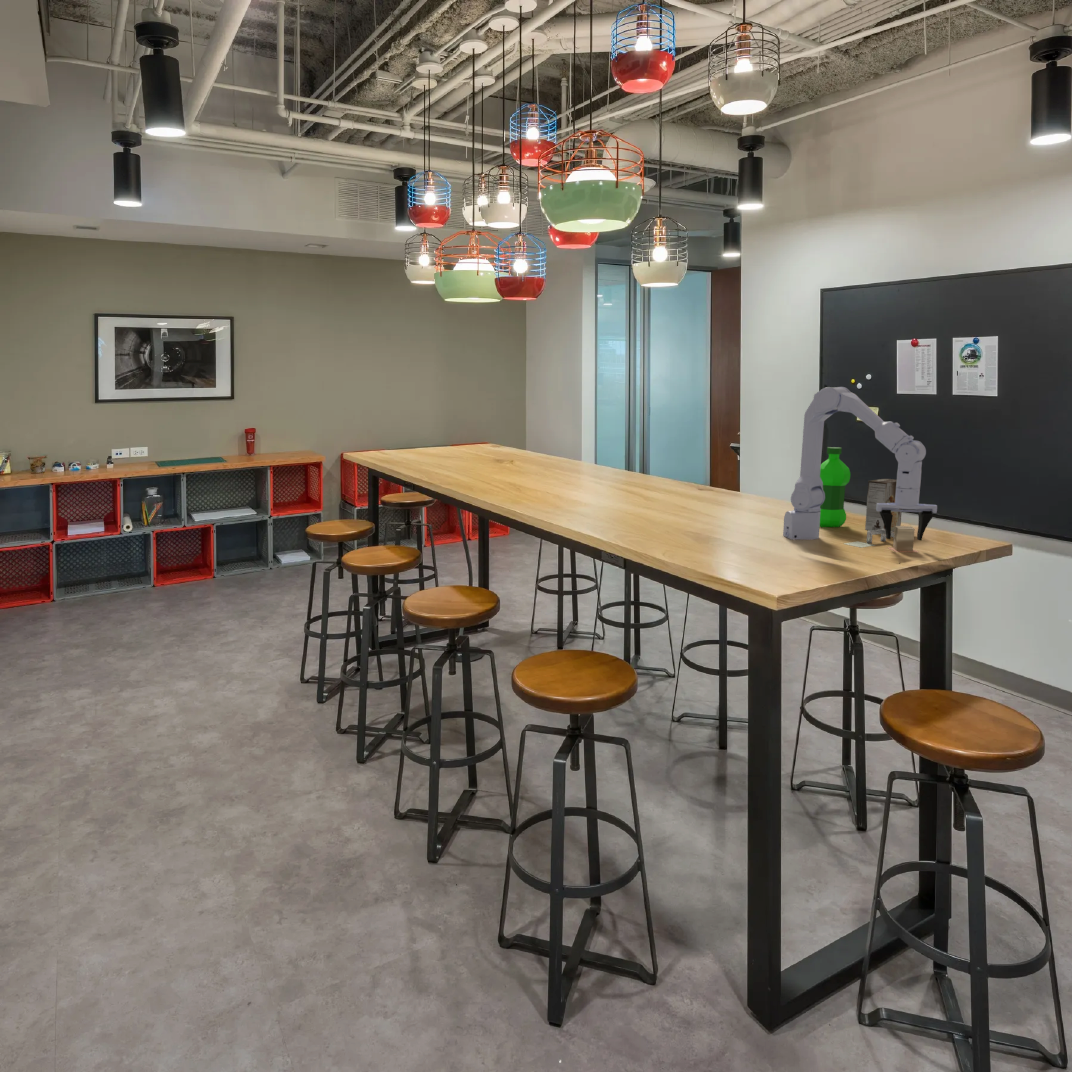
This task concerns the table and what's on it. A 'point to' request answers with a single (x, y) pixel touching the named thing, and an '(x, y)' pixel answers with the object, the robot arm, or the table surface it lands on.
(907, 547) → the birch block
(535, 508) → the table surface
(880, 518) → the coffee box
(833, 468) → the plastic bottle
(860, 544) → the board
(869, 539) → the bent wire
